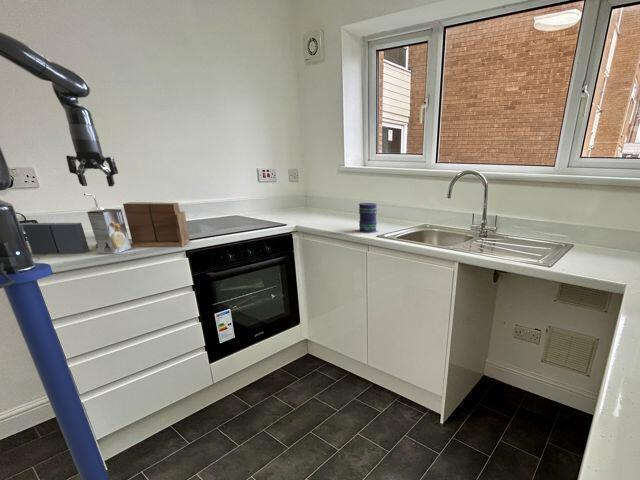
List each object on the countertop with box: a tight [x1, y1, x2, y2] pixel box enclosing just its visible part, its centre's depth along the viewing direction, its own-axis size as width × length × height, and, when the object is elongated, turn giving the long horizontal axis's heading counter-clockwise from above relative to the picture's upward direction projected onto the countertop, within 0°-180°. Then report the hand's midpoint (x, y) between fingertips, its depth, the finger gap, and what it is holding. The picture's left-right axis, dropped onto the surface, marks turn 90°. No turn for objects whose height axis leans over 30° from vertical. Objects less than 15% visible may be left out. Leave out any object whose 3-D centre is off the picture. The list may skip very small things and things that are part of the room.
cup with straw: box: [83, 193, 105, 218], centre depth 159 cm, size 8×9×20 cm
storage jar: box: [358, 202, 378, 233], centre depth 197 cm, size 10×10×15 cm
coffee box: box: [86, 208, 132, 255], centre depth 137 cm, size 9×6×16 cm
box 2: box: [149, 201, 181, 242], centre depth 151 cm, size 6×9×16 cm, turn 104°
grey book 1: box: [22, 222, 60, 255], centre depth 133 cm, size 4×8×11 cm, turn 103°
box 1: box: [122, 201, 157, 242], centre depth 149 cm, size 6×9×16 cm, turn 104°
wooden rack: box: [95, 210, 190, 249], centre depth 150 cm, size 10×32×14 cm, turn 103°
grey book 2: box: [50, 222, 90, 254], centre depth 135 cm, size 4×8×11 cm, turn 103°
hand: (98, 186), depth 131 cm, fingers open, 8 cm apart
